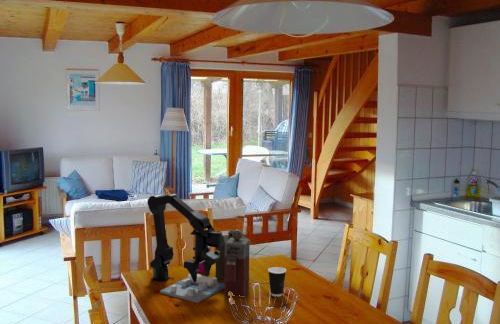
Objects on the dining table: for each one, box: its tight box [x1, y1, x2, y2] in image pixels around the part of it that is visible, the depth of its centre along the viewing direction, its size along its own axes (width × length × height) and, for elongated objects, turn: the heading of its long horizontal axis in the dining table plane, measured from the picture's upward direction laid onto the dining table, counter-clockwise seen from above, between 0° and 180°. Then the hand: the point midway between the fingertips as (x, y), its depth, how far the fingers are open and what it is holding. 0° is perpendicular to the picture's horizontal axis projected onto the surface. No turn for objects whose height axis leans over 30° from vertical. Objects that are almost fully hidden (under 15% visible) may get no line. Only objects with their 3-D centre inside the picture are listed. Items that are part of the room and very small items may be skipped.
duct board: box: [159, 273, 225, 304], centre depth 220 cm, size 20×22×4 cm
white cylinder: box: [187, 273, 214, 287], centre depth 224 cm, size 12×4×4 cm, turn 59°
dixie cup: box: [267, 266, 287, 298], centre depth 216 cm, size 8×8×11 cm
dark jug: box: [223, 228, 251, 297], centre depth 215 cm, size 9×11×28 cm
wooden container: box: [215, 229, 248, 281], centre depth 239 cm, size 15×15×22 cm
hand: (201, 279), depth 225 cm, fingers open, 9 cm apart
